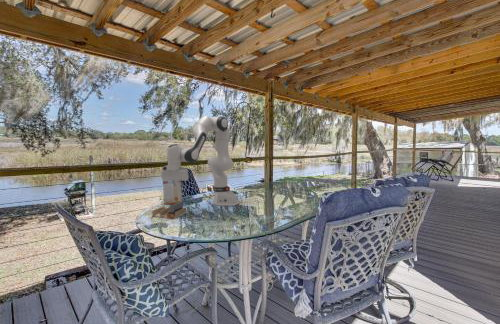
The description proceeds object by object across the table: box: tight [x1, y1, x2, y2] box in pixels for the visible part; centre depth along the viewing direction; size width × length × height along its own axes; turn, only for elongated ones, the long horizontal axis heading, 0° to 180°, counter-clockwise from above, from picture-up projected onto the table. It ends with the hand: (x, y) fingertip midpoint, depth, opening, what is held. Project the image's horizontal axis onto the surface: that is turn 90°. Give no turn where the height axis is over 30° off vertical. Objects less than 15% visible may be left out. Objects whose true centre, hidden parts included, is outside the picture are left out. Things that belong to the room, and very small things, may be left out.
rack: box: [151, 205, 188, 220], centre depth 203 cm, size 19×17×4 cm
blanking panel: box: [169, 201, 184, 216], centre depth 201 cm, size 3×12×7 cm, turn 163°
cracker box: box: [162, 180, 183, 205], centre depth 236 cm, size 14×6×21 cm, turn 84°
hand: (175, 186), depth 200 cm, fingers closed
